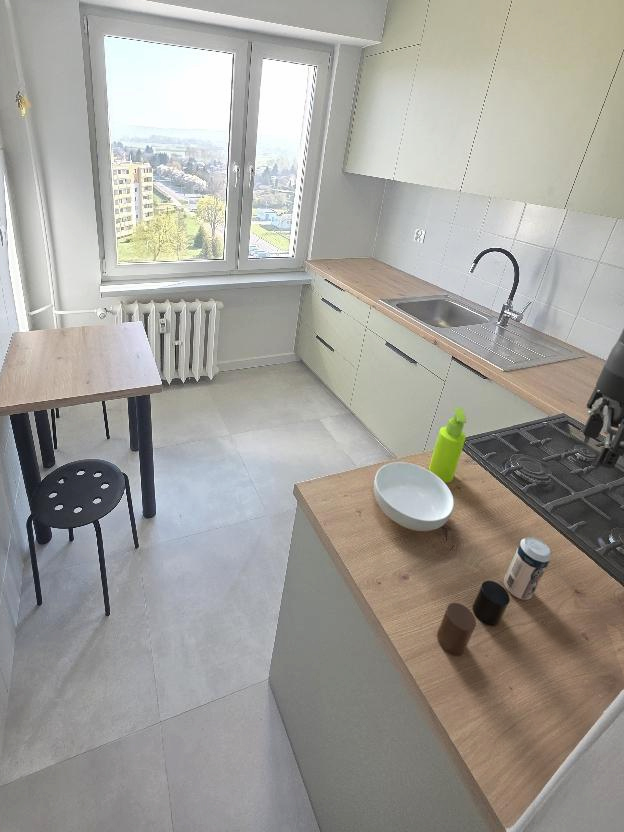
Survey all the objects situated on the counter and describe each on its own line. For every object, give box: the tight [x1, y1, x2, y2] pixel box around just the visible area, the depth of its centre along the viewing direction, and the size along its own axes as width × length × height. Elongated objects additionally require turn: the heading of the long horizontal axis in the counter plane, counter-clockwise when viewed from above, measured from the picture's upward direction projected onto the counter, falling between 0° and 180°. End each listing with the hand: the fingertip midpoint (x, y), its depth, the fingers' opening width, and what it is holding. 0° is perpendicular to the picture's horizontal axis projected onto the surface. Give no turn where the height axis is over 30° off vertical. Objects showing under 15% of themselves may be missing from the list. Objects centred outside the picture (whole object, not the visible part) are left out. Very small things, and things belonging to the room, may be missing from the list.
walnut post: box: [436, 602, 477, 657], centre depth 70 cm, size 4×4×7 cm
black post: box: [472, 580, 511, 627], centre depth 75 cm, size 4×4×6 cm
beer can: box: [503, 536, 552, 600], centre depth 78 cm, size 5×5×12 cm
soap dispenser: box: [427, 407, 467, 483], centre depth 104 cm, size 6×7×20 cm
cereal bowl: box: [373, 461, 455, 532], centre depth 95 cm, size 17×17×7 cm
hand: (596, 450), depth 74 cm, fingers open, 8 cm apart
